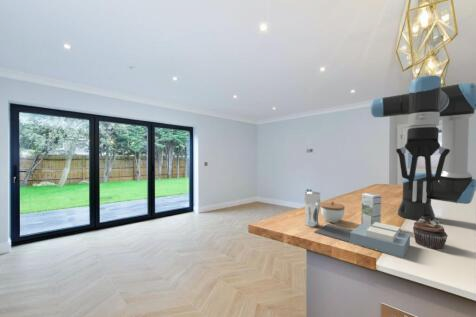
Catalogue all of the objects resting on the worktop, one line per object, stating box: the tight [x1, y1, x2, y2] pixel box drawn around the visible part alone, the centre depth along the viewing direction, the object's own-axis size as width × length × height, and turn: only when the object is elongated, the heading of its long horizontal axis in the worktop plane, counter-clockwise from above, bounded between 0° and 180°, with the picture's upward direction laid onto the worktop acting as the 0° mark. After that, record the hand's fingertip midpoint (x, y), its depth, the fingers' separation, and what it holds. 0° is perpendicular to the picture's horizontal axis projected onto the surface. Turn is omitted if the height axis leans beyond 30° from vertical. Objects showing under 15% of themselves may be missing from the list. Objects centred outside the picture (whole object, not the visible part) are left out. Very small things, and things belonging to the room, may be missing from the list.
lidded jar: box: [320, 201, 346, 224], centre depth 107 cm, size 11×11×9 cm
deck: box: [349, 223, 411, 259], centre depth 81 cm, size 14×16×4 cm
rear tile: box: [372, 222, 401, 236], centre depth 83 cm, size 6×8×2 cm
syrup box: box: [360, 192, 382, 226], centre depth 101 cm, size 6×6×14 cm
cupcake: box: [412, 216, 448, 250], centre depth 81 cm, size 10×10×10 cm
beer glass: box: [304, 190, 322, 228], centre depth 100 cm, size 7×7×15 cm
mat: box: [313, 223, 354, 243], centre depth 91 cm, size 14×14×1 cm
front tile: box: [366, 226, 396, 242], centre depth 77 cm, size 6×8×2 cm
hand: (419, 201), depth 70 cm, fingers open, 2 cm apart
